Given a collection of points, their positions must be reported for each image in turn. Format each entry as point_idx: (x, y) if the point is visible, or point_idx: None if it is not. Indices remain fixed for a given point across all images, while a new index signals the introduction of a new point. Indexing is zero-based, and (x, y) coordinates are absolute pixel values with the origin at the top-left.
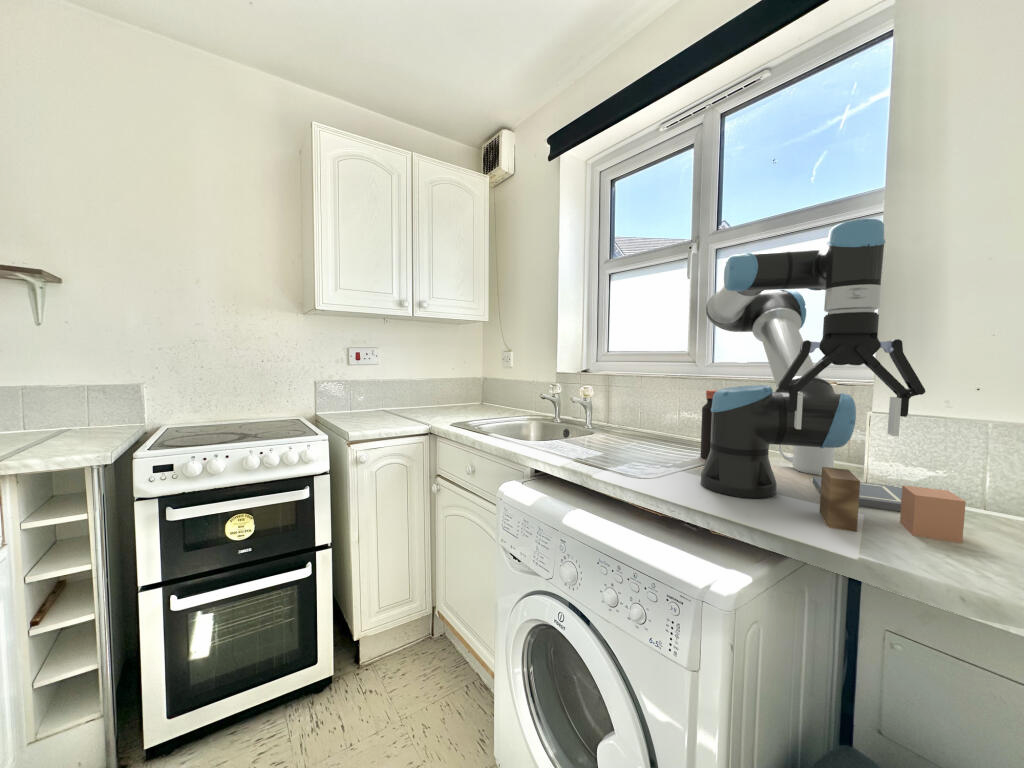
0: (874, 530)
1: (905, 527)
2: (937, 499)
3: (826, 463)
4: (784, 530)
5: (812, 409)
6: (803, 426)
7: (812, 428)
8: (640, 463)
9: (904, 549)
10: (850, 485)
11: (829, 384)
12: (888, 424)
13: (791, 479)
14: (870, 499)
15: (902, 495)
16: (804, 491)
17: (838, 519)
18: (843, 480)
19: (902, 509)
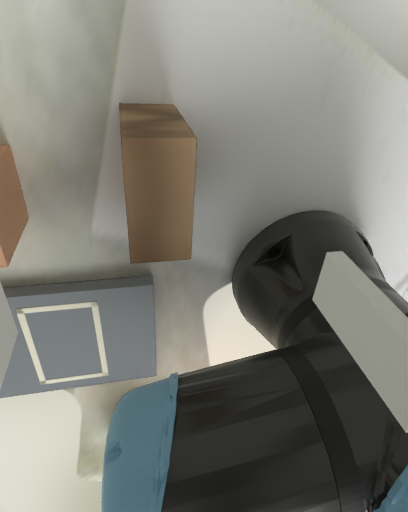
0: (82, 136)
1: (20, 187)
2: None
3: None
4: (271, 26)
5: (241, 460)
6: (248, 389)
7: (222, 391)
8: None
9: (32, 25)
10: (144, 132)
11: None
12: (6, 362)
13: (188, 364)
14: (73, 294)
15: (12, 248)
16: (178, 311)
17: (157, 108)
18: (163, 137)
19: (19, 225)
